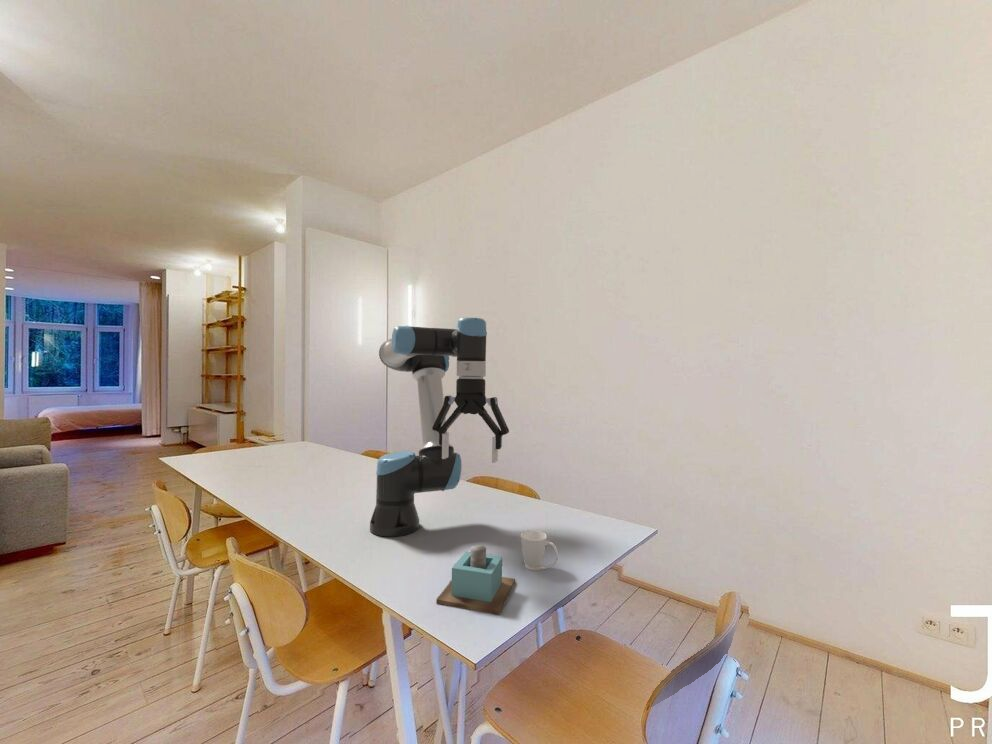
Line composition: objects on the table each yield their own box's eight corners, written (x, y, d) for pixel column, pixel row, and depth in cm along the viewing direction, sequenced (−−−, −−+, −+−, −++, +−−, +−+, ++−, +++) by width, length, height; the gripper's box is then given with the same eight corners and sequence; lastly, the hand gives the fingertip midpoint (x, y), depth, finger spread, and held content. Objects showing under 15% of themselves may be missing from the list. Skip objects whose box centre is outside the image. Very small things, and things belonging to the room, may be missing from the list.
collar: (451, 595, 92) (451, 567, 92) (465, 576, 101) (465, 551, 101) (491, 602, 90) (491, 574, 90) (501, 582, 98) (502, 556, 98)
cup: (525, 558, 113) (526, 528, 113) (561, 566, 109) (562, 535, 109) (514, 568, 107) (515, 537, 107) (552, 578, 102) (552, 545, 102)
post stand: (436, 603, 91) (437, 557, 91) (459, 573, 104) (460, 533, 104) (499, 614, 87) (500, 566, 87) (515, 582, 100) (515, 540, 100)
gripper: (420, 377, 110) (419, 459, 110) (514, 379, 103) (513, 466, 103) (432, 376, 117) (431, 453, 117) (521, 378, 110) (519, 460, 110)
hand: (469, 460), depth 110 cm, fingers open, 13 cm apart
